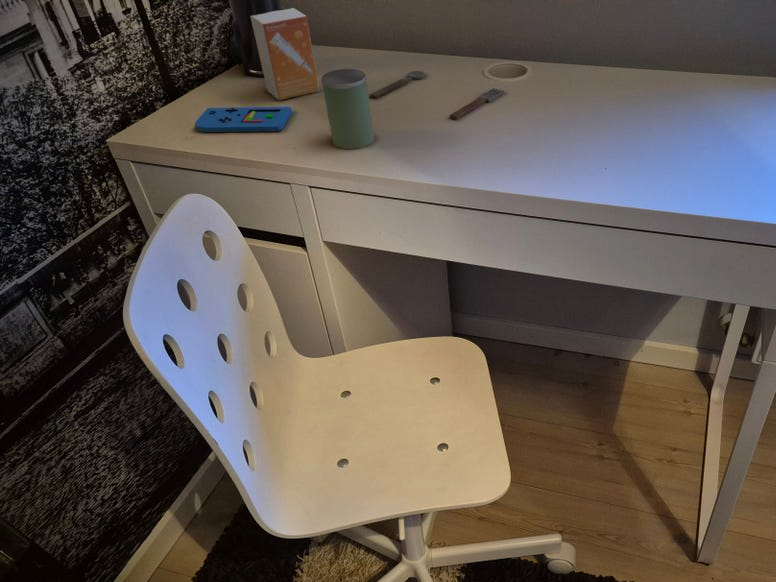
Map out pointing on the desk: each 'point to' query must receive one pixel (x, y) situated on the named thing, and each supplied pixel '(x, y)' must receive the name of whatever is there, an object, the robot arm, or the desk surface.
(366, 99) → the can
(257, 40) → the small box
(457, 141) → the desk surface
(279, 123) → the handheld gaming device
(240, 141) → the desk surface
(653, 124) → the desk surface
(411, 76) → the spoon
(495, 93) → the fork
